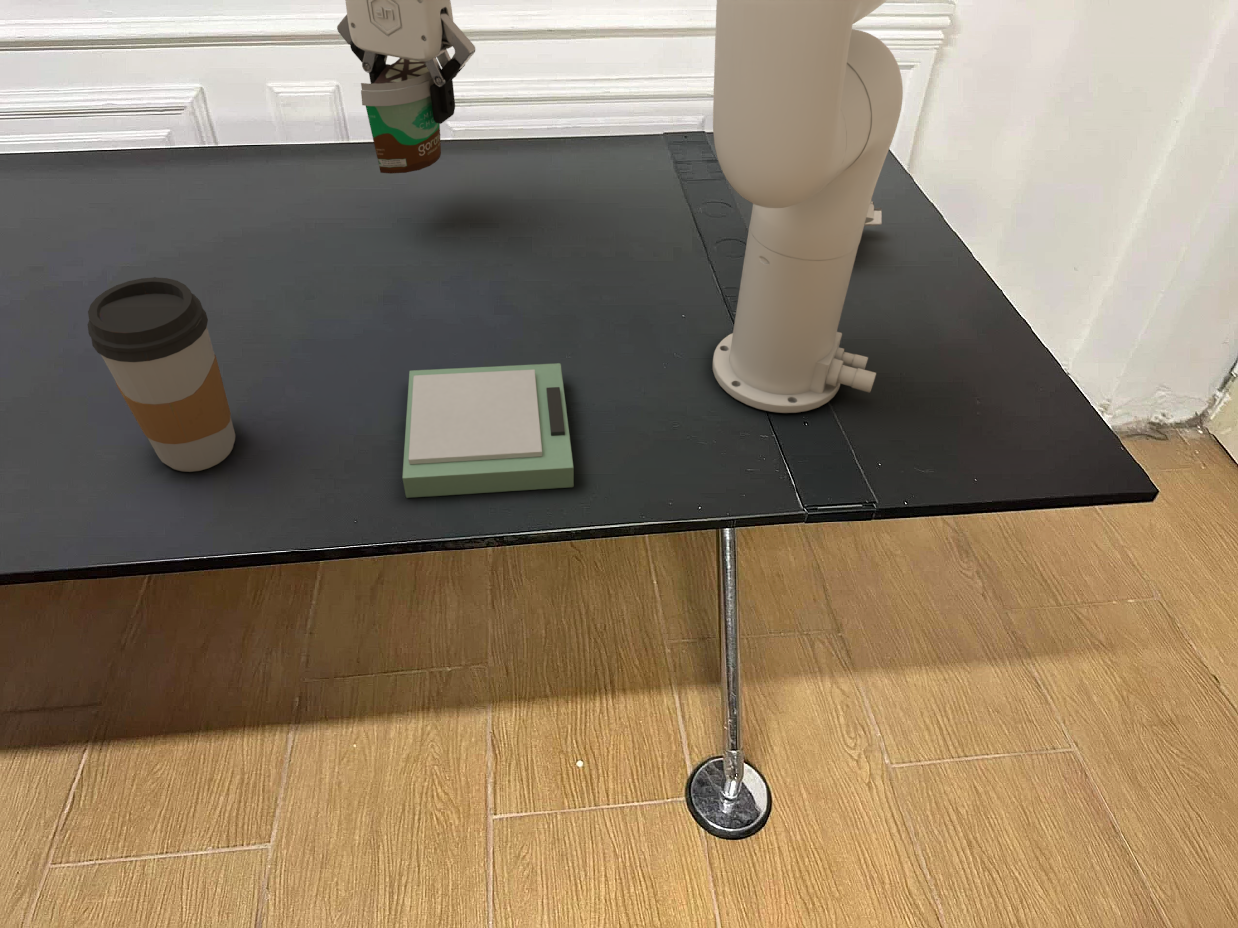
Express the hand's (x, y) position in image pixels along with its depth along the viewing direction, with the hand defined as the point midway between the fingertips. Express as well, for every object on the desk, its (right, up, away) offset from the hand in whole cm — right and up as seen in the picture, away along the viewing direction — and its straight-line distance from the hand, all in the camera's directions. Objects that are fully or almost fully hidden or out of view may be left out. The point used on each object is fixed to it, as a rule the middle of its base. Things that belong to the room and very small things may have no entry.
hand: (415, 111), depth 98 cm
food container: (0, -4, +4) cm, 5 cm away
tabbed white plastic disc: (+45, -13, +8) cm, 48 cm away
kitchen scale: (+10, -36, -17) cm, 41 cm away
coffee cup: (-15, -37, -19) cm, 44 cm away
